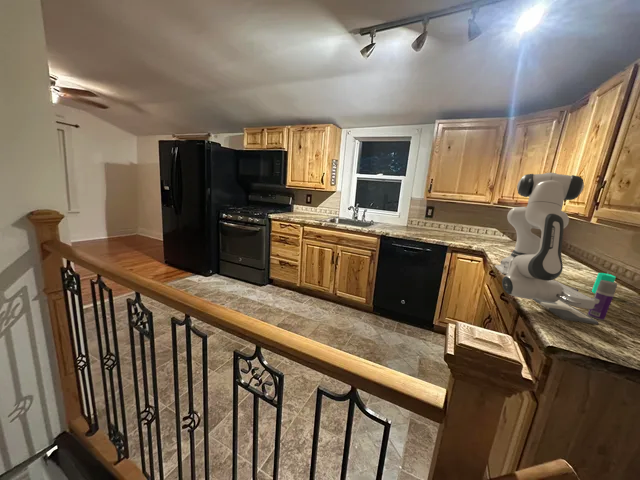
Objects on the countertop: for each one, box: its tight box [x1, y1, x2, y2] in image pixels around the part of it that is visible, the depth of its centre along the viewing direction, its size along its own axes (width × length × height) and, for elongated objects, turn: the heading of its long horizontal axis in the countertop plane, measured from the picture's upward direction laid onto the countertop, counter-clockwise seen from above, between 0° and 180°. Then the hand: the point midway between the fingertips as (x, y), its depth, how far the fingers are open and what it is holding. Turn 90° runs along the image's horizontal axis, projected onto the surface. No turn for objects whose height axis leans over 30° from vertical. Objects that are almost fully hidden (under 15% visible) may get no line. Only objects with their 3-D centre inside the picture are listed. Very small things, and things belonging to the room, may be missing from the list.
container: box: [587, 280, 619, 321], centre depth 100 cm, size 5×5×15 cm
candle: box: [591, 272, 617, 294], centre depth 127 cm, size 6×6×12 cm
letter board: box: [532, 299, 599, 325], centre depth 105 cm, size 20×12×1 cm, turn 172°
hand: (586, 295), depth 100 cm, fingers open, 8 cm apart
